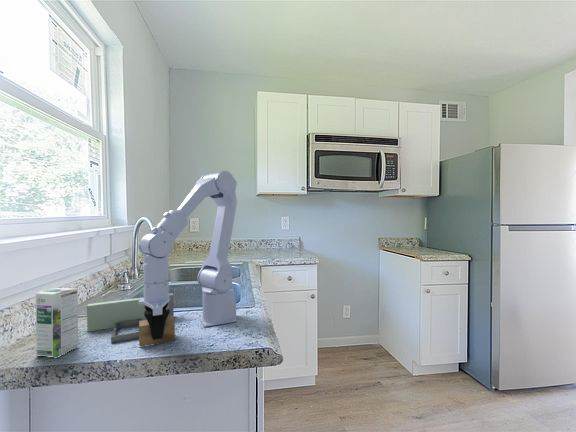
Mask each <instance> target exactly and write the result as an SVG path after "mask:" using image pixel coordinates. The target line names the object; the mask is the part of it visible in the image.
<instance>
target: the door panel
mask: <svg viewBox="0 0 576 432" xmlns="http://www.w3.org/2000/svg"><path fill="white" fill-rule="evenodd" d="M169 297H170V301H169V302H168V306H167V308H166V309H170V312H169V315H168V317H170V316H174V314H175V313H174V312H175V310H174V293H172V292H171V293H169ZM142 299H144V296H143V297H136V298H135V297H134V298H127V299H119V300H110V301H103V302H95V303H88V304H87V305H86V328H87V329H86V331H87V332H94V331H95V332H96V331H102V330H107V329H114V325H115V323H117V322H124V321H131V320H137V319H142V321H143V320H147V319H146V317H145V315H144V311H146V309H145V308H144V306H145V305H144V304H139V300H142ZM174 317H175V316H174Z"/></svg>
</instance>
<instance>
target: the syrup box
mask: <svg viewBox="0 0 576 432" xmlns="http://www.w3.org/2000/svg"><path fill="white" fill-rule="evenodd" d="M78 297H79V296H78V288H77V287H76V288H75V287H74V288H70V287H69V288H67V287H66V288H65V287H53V288H49V289H48V288H47V289H45V290H41V291H38V292H36V293H35V321H36V322H35V324H36V325H35V330H36V331H35V333H36V334H35V336H36V338H35V340H36V341H35V343H36V350H35V356H36V355H41V356H53V357H58V356H60V355H62V354H64V353H66V352H68V353H70V352H72V351H74V350H75V349H78V347H79V315H78V313H79V312H78V311H79V308H78V307H79V306H78V305H79V301H78V299H79V298H78ZM73 349H74V350H73ZM71 350H72V351H71ZM69 351H70V352H69ZM66 354H67V353H66ZM64 355H65V354H64Z"/></svg>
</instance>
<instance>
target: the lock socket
mask: <svg viewBox="0 0 576 432" xmlns="http://www.w3.org/2000/svg"><path fill="white" fill-rule="evenodd" d="M139 321H142V319H137V320H131V321H124V322H117V323H115V325H114V328H112V333H111V335H110V344H114V343H120V341H121V342H126V340H127V341H131V339H133V340H136V339H137V338H138V339H139V331H135V332H129V333H123V334H117V332H118V329H122V328H128V327H129V328H130V327H136V326H139Z"/></svg>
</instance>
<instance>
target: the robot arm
mask: <svg viewBox="0 0 576 432" xmlns="http://www.w3.org/2000/svg"><path fill="white" fill-rule="evenodd" d="M237 185H238V182H237V181H236V179H235V177H234V175H233V174H232V173H231V172H230V171H228V170H222V171H218V172H211V173H205V174H203V175H202V176H201V177H200V178H199V179H198V180H196V182H195V185H194V186H193V188H192V189H191V191H190V192H189V193H188V194H187V195H186V197H185V198H184V200H183V201H182V202H181V204H180V205H179V206H178V208H177V209H171V210H169V211H166V212H164V213H163V214H162V216H163V218H162V219H161V220H160V222H158V224H156V226H155V227H152V228H151V229H150V231H151V233H147V234H145V235H144V236H143V237H142V238H141V240H140V243H139V244H138V250H139V252H140V253H141V254H142V255H143V259H142V260H143V270H142V271H143V297H144V299H142V300H139V304H144V305H145V306H144V308H145V309H146V311H144V315H145V317H146V319H147V321H148V323H149V326H150V330H151V335H152V338H153V340H156V339H161V338H162V337H163V332H164V326H165V322H166V319H167V317H168V315H169V312H170V309H166V308H167V306H168V302H169V301H170V297H169V292H170V289H169V288H170V286H169V283H170V282H169V281H170V280H169V279H170V278H169V254H170V253H171V252H172V251H173V248H174V242H175V241H176V239H178V237H179V235H181V233H182V232H183V230H185V229H186V227H187V226H188V223H189V219H188V218H189V216H190V215H191V214H192V213H193V212H194V211H195V210H196V209H197V207H198V206H199V205H200V204H201V203H202V202H203V201H204V200H205V198H208V197H209V198H211V200H213V201H214V202H215V204H216V206H217V210H216V214H215V215H216V216H215V220H214V227H213V230H212V238H211V243H210V249H209V253H208V257H207V258H206V259H205V260H204V261H203V262H202V266H201V268H200V270H199V272H198V274H197V279H196V280H197V283H198V285H199V286H200V287H201V291H202V292H201V293H202V294H201V295H202V315H201V316H200V317H199V321H200V322H201V325H202V326H203V327H204V328H206V327H213V326H219V325H224V324H229V323H236V322H237V321H238V319H237V297H236V296H237V295H236V291H235V290H234V289H233V288H231V286H232V284H233V281H234V280H233V274H232V272H233V271H232V270H233V266H232V264H231V263H230V261H229V260H228V257H229V251H230V245H231V239H232V232H233V228H234V221H235V216H236V211H237V204H238V200H237V195H236V194H237V193H236V189H237Z"/></svg>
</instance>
